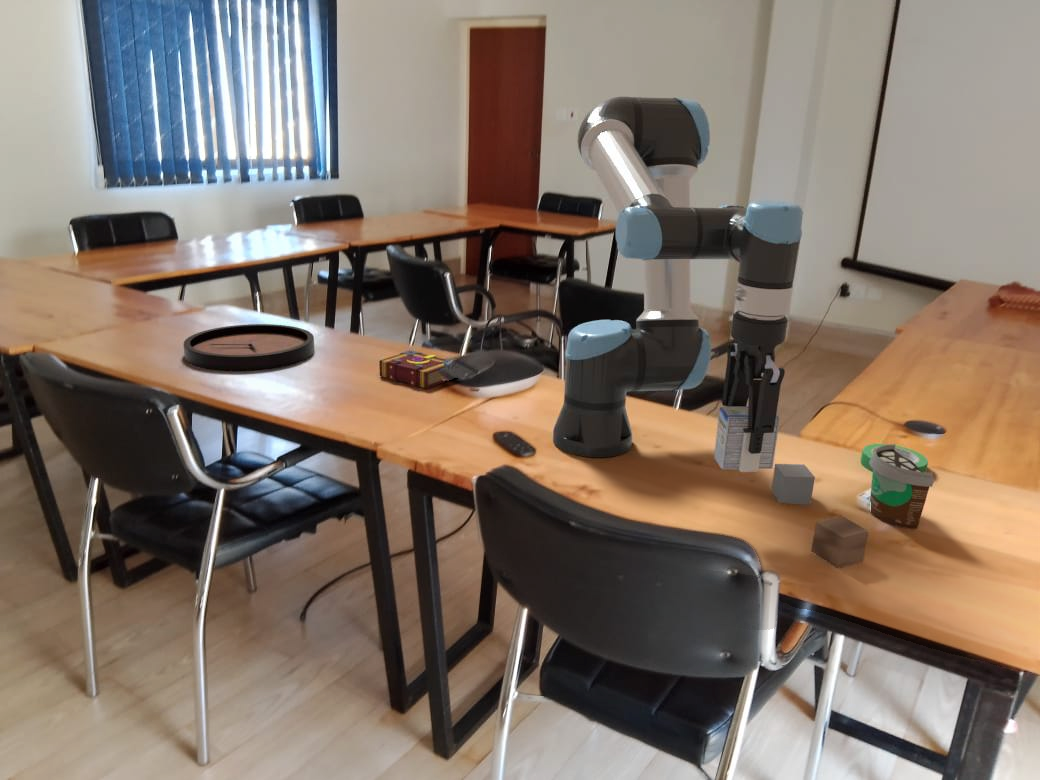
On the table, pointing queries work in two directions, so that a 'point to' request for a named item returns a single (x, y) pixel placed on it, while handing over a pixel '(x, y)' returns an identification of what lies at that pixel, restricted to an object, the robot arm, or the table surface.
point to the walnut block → (839, 541)
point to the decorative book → (413, 369)
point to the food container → (897, 488)
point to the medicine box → (740, 439)
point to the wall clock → (249, 347)
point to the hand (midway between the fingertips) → (740, 462)
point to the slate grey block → (792, 483)
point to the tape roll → (905, 452)
